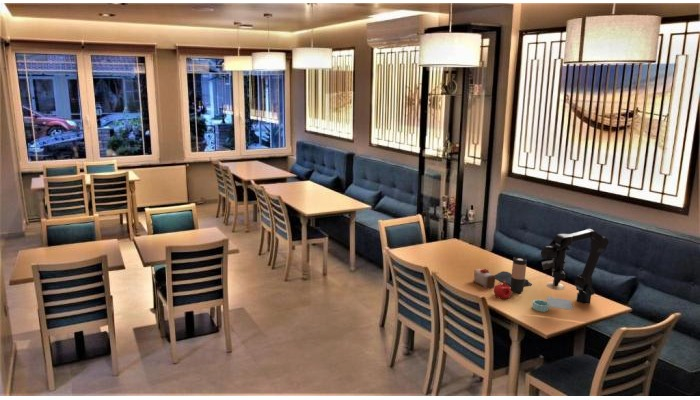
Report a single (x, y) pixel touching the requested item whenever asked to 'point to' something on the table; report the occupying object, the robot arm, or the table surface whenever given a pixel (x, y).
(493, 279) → the food item
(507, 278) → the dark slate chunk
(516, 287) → the travel mug
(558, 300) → the mat
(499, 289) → the pomegranate
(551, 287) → the lid
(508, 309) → the table surface
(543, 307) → the bowl
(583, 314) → the table surface
